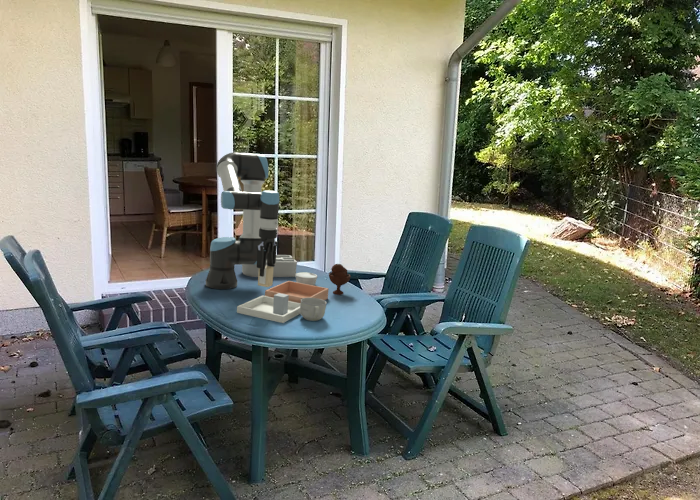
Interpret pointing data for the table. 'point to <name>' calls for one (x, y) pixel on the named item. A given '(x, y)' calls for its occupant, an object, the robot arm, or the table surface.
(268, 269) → the tall cardboard carton
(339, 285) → the ice cream bowl
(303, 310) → the teacup
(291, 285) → the orange square tray
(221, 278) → the robot arm
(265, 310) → the parts tray
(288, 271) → the grey compartment organizer
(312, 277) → the ramekin
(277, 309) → the pale grey box block
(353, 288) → the table surface
